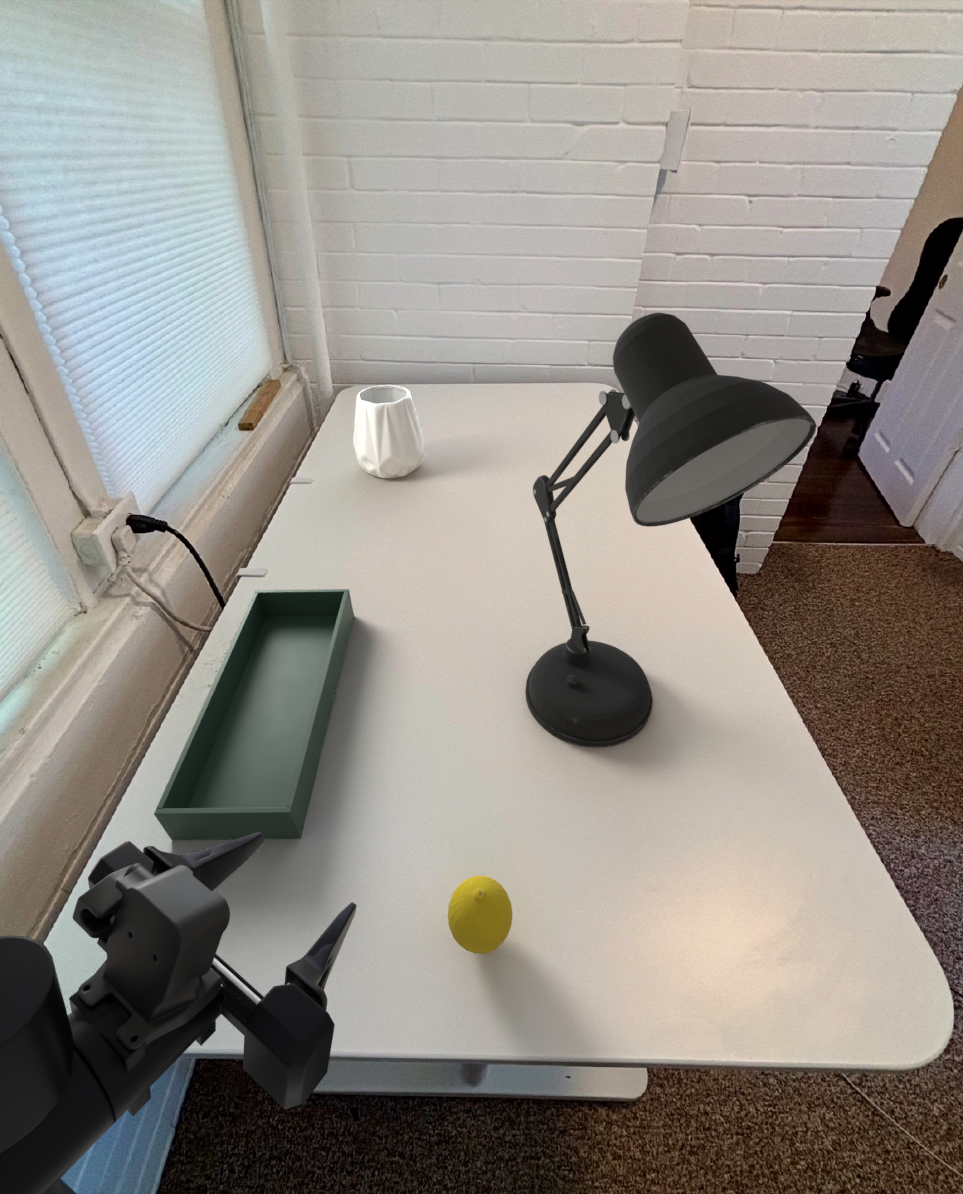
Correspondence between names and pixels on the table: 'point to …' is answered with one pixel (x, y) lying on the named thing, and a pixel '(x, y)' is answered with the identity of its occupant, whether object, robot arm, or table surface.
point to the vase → (387, 432)
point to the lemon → (480, 914)
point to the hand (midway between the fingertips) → (306, 870)
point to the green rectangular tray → (262, 721)
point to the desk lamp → (656, 501)
